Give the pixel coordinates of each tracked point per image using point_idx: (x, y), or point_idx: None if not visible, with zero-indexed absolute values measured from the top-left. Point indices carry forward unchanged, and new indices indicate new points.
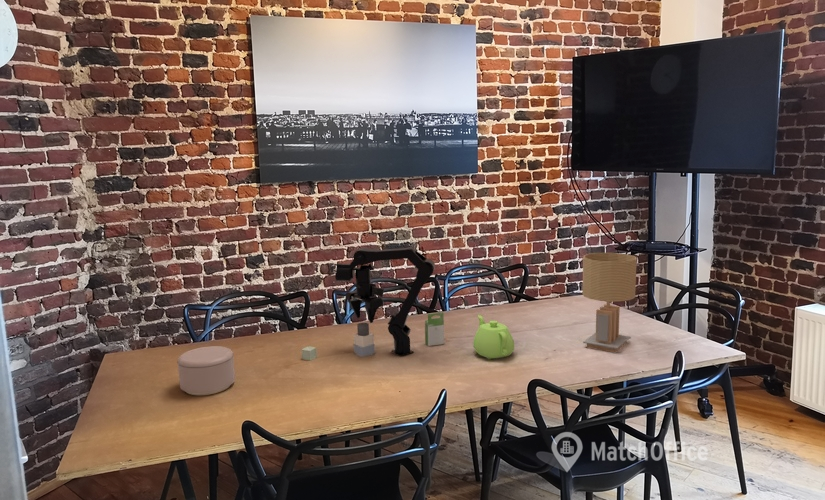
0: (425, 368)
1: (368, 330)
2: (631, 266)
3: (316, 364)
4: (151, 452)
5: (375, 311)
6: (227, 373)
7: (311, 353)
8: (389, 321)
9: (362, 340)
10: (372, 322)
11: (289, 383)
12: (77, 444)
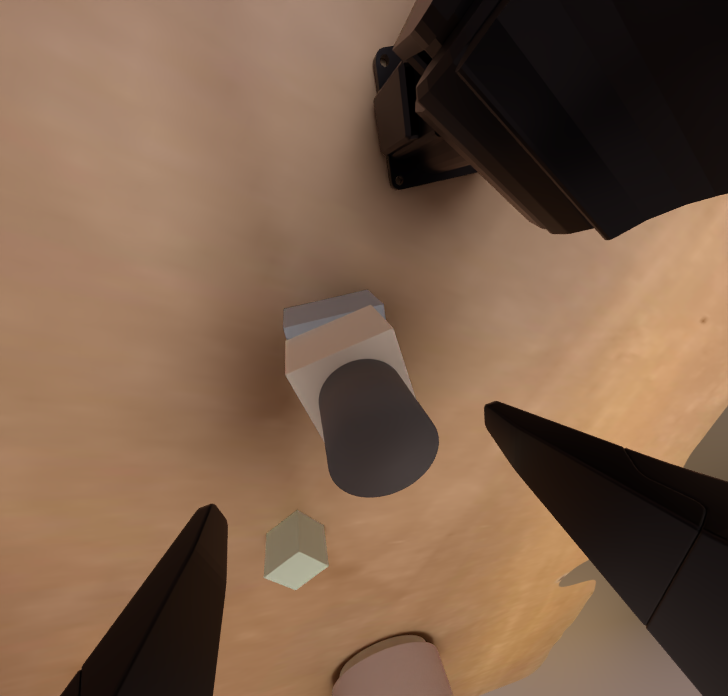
0: None
1: (403, 383)
2: None
3: (370, 508)
4: (555, 635)
5: (717, 492)
6: (442, 683)
7: (321, 548)
8: (609, 188)
9: None
10: (493, 402)
11: (464, 550)
12: (484, 692)
